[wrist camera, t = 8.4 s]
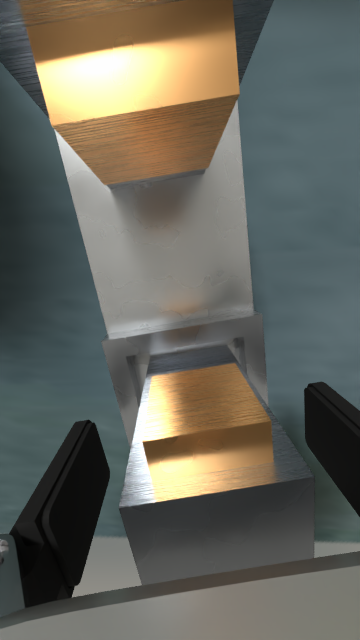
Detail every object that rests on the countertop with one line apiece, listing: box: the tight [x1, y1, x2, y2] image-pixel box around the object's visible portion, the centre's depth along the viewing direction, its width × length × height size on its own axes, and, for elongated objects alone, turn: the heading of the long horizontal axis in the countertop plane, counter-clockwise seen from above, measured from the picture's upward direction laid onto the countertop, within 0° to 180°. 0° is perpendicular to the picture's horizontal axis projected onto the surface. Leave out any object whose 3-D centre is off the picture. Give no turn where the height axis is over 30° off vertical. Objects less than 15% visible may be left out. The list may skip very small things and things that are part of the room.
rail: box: [0, 0, 274, 449], centre depth 8 cm, size 8×22×10 cm, turn 9°
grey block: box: [119, 345, 315, 585], centre depth 9 cm, size 6×4×8 cm
